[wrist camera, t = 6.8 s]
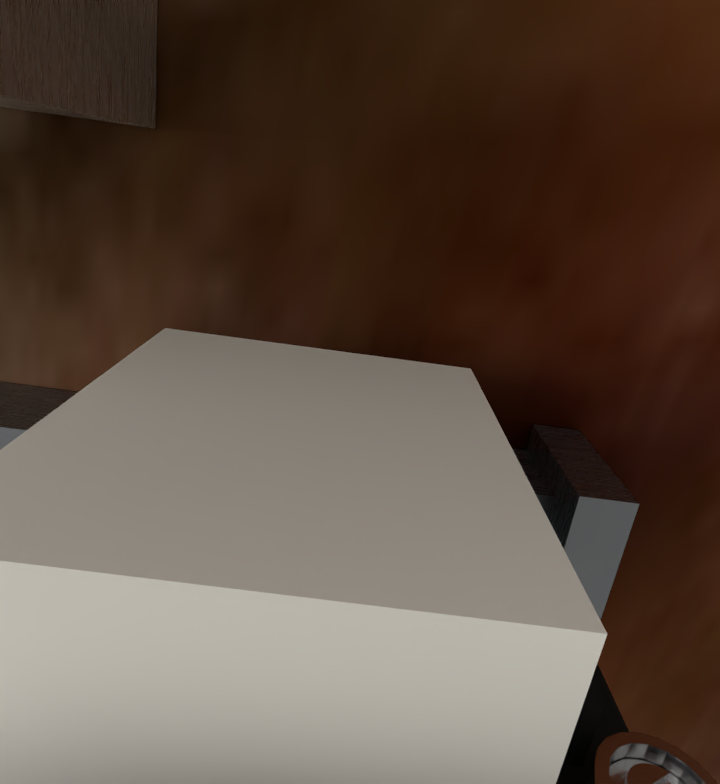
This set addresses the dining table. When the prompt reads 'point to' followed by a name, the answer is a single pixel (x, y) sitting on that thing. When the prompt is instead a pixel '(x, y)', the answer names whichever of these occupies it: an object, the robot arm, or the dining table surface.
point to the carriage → (282, 579)
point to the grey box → (80, 58)
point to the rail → (539, 462)
